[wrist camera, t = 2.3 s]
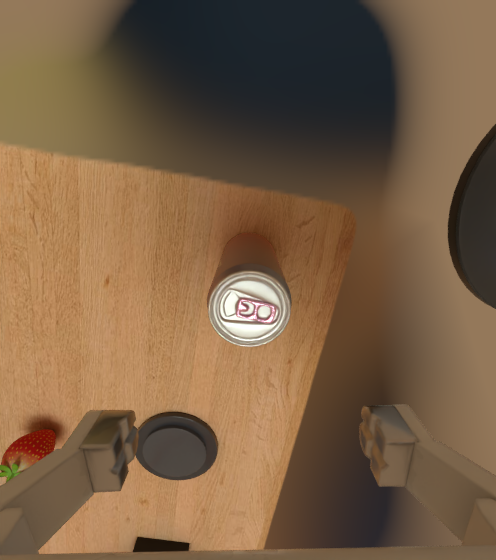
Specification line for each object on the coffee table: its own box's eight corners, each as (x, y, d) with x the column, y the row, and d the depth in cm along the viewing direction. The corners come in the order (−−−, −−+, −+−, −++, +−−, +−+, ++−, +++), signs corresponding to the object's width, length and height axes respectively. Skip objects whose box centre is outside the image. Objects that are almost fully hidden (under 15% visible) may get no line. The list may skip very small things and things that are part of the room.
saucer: (215, 411, 41) (214, 419, 39) (219, 474, 44) (218, 483, 43) (129, 412, 41) (125, 420, 39) (141, 475, 44) (137, 484, 43)
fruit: (49, 450, 43) (6, 507, 35) (22, 427, 42) (-29, 481, 34) (75, 434, 42) (37, 489, 34) (49, 409, 41) (3, 461, 33)
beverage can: (267, 286, 35) (281, 357, 21) (218, 275, 34) (197, 340, 20) (280, 237, 33) (304, 279, 19) (228, 226, 33) (213, 258, 18)
